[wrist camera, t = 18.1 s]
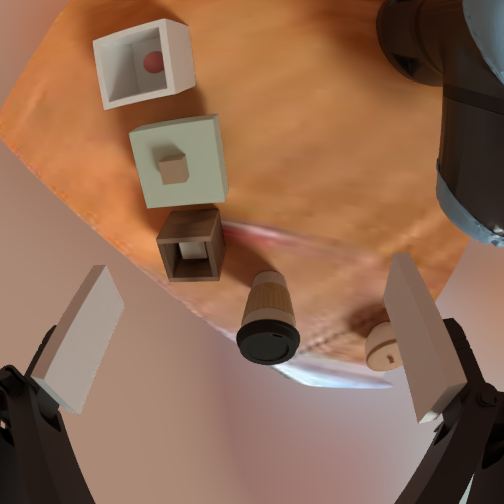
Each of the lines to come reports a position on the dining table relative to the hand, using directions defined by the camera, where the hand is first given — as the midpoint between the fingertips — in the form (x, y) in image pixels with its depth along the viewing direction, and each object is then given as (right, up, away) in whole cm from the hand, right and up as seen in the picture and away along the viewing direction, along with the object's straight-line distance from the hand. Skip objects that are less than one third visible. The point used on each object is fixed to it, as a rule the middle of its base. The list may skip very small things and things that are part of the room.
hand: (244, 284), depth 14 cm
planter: (-12, +27, +21) cm, 37 cm away
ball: (-12, +27, +21) cm, 36 cm away
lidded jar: (+30, -16, +50) cm, 61 cm away
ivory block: (-9, +4, +37) cm, 38 cm away
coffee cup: (+4, -4, +44) cm, 44 cm away
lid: (-9, +14, +27) cm, 32 cm away
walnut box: (-8, +5, +38) cm, 39 cm away
